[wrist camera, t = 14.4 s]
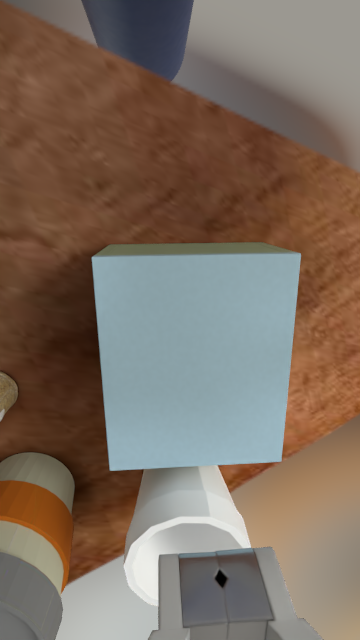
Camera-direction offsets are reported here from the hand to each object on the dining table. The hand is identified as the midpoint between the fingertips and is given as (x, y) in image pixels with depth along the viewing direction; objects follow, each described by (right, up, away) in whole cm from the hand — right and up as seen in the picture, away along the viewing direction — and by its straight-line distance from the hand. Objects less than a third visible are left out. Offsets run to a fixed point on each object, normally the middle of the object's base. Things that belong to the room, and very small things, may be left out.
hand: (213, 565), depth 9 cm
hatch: (0, +3, +17) cm, 17 cm away
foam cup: (-1, -7, +28) cm, 29 cm away
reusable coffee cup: (-17, -12, +29) cm, 35 cm away
